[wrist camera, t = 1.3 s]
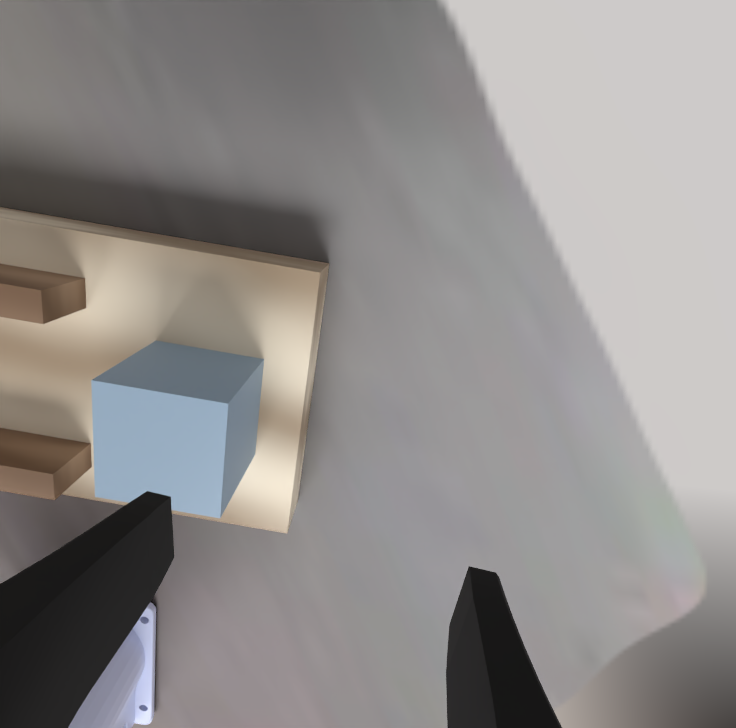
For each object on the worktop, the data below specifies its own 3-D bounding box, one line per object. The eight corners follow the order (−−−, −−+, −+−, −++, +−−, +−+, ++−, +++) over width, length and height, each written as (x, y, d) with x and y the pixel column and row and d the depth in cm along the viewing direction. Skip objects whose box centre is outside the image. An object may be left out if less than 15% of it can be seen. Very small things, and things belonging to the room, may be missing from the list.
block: (255, 454, 21) (220, 518, 17) (154, 437, 21) (95, 496, 17) (264, 359, 20) (228, 403, 16) (155, 340, 20) (91, 380, 16)
